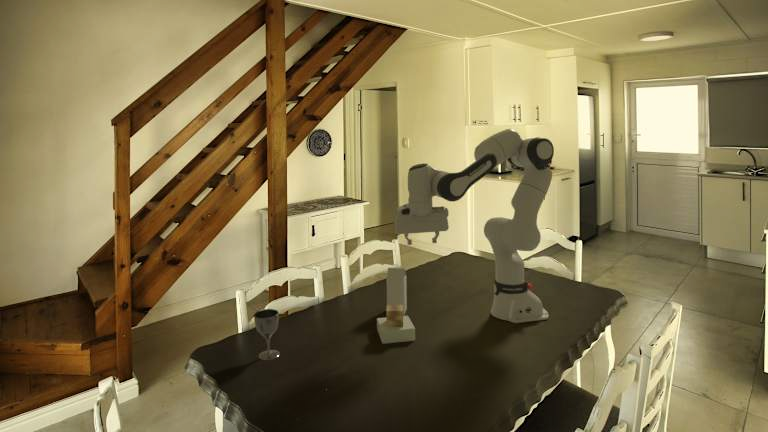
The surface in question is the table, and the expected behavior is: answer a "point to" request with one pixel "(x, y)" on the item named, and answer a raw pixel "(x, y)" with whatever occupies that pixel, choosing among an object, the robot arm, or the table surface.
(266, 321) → the wine glass
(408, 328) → the sage block
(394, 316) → the oak cube
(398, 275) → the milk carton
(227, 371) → the table surface
